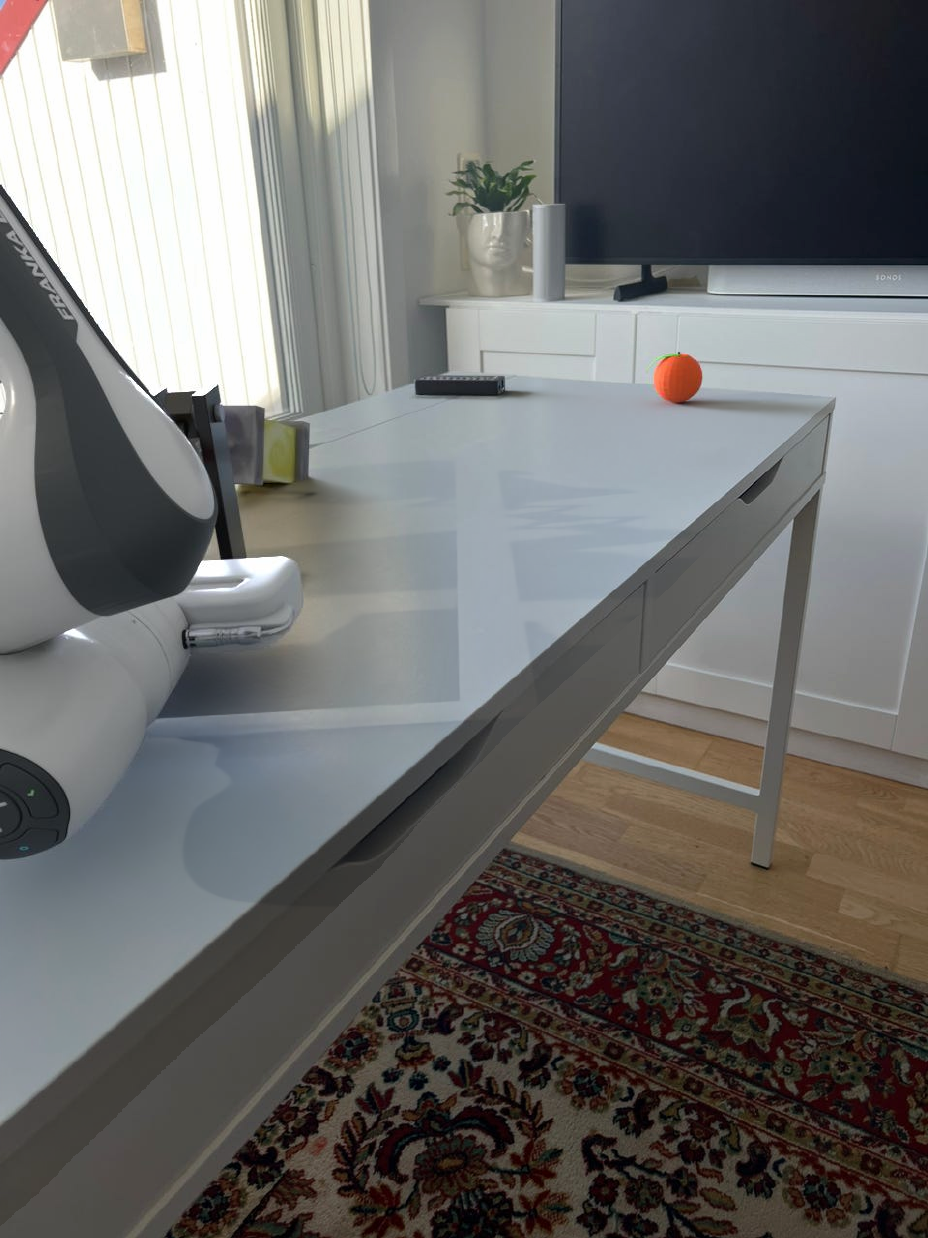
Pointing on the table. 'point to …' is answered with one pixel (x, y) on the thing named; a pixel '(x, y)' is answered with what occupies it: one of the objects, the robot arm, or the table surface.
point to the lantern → (264, 447)
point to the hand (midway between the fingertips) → (173, 561)
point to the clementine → (677, 377)
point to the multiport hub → (459, 385)
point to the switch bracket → (217, 467)
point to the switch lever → (182, 412)
